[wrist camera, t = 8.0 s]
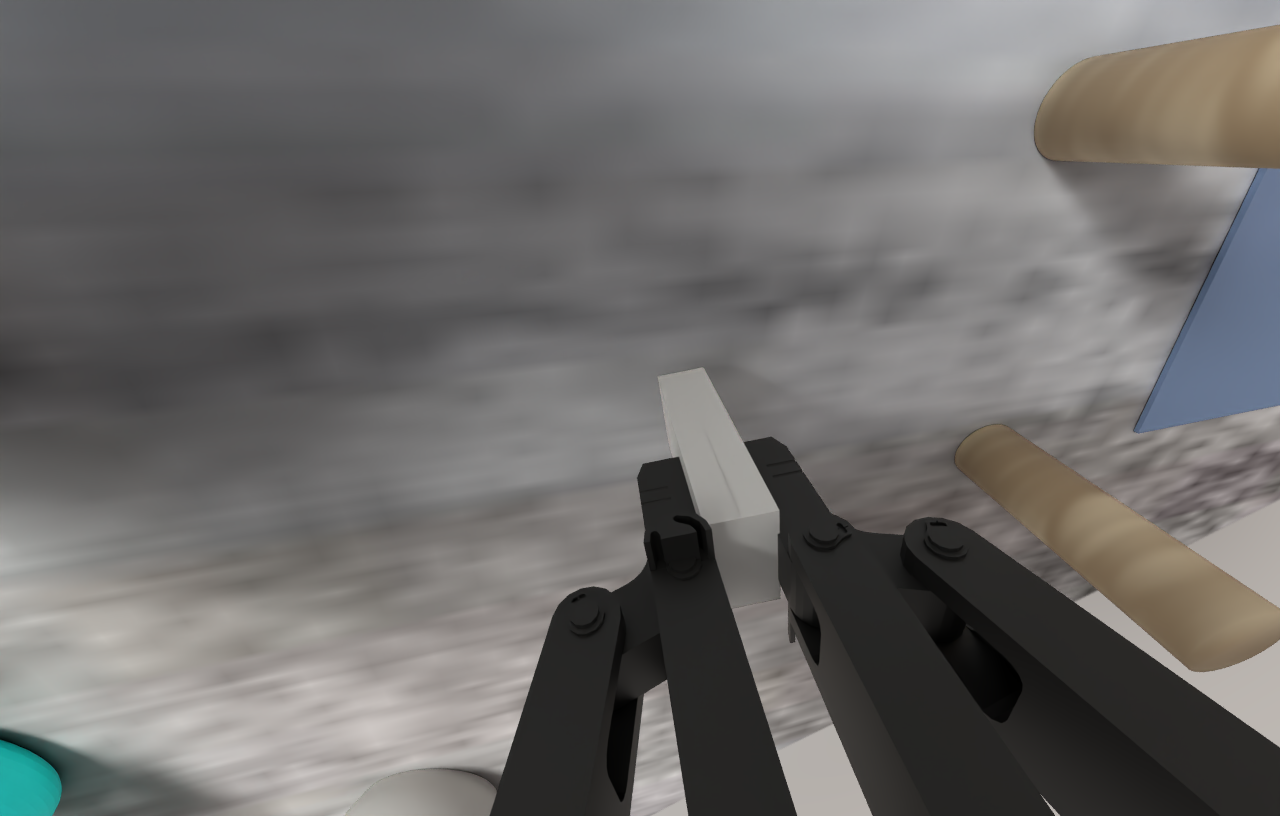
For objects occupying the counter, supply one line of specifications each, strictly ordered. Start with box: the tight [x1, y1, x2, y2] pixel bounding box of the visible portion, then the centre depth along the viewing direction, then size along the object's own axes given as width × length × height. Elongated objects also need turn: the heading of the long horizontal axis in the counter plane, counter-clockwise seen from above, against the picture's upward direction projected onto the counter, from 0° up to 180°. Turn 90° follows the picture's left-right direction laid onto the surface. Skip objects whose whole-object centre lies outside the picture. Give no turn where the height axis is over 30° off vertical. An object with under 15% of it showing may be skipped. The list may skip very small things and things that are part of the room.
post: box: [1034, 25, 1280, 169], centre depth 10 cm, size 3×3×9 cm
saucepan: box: [345, 769, 497, 816], centre depth 29 cm, size 11×18×4 cm, turn 115°
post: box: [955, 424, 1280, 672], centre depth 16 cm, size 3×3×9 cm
